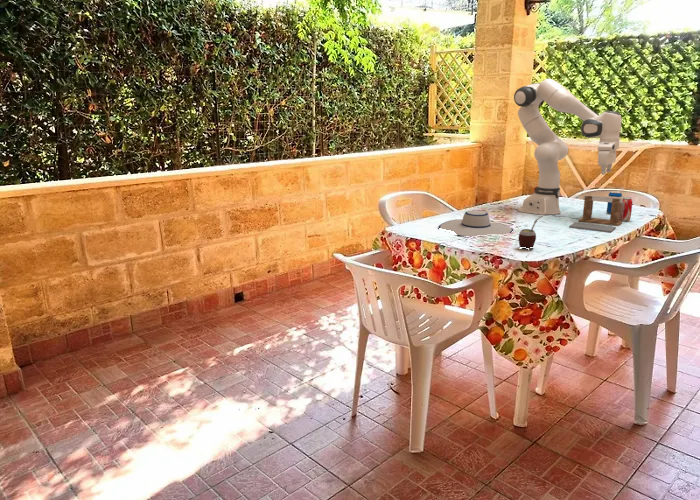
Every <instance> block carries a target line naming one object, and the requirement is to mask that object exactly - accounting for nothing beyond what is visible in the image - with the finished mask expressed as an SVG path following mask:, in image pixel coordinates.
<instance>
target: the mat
mask: <svg viewBox="0 0 700 500" xmlns="http://www.w3.org/2000/svg"><path fill="white" fill-rule="evenodd" d="M568 228H570V229H579V230H586V231H587V230H588V231H593V232H595V231H596V232H603V233H609V234H610V233H612V232H614V230H616V229H617V226H613V225H605V224H596V223H588V222H579V221H575V222H573V223H572V224H570V225H569V226H568Z"/></svg>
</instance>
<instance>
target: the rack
mask: <svg viewBox="0 0 700 500" xmlns="http://www.w3.org/2000/svg"><path fill="white" fill-rule="evenodd" d="M619 200H620V199H613V200H612V208H611V214H610V218H608V219H607V218H598V217H593V208H594V201H591V197H588V196H585V200H583V201H584V202H583V211H582V216H581V217H580V218H579V219H578V223H587V224H595V225H604V226H612V227H620V226H621V225H622V224H623V223H624V222H623V221H619V216H620V208H621V203H619Z"/></svg>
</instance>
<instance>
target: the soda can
mask: <svg viewBox="0 0 700 500" xmlns="http://www.w3.org/2000/svg"><path fill="white" fill-rule="evenodd" d="M622 197H623V203H621V208H620V216H619V221H623V222H622V223H624V222H625V223H626V222H629V221H630V220H631V216H632V209H633V198H632V197H630V196H622Z"/></svg>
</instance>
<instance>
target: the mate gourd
mask: <svg viewBox="0 0 700 500" xmlns="http://www.w3.org/2000/svg"><path fill="white" fill-rule="evenodd" d="M543 216H544V215H540V216H539V217H537V218H536V219H535V220H534V222H533V225H532V227H531V229H528V228H525V229H521V230H520V231H519V232H518V233H519V234H518V244H519V248H520V247H526V248H530V247H534V246H535V242H536V239H537V234H536V231H535V230H534V227H535V225H536V223H537V222H538V220H541V218H543Z"/></svg>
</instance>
